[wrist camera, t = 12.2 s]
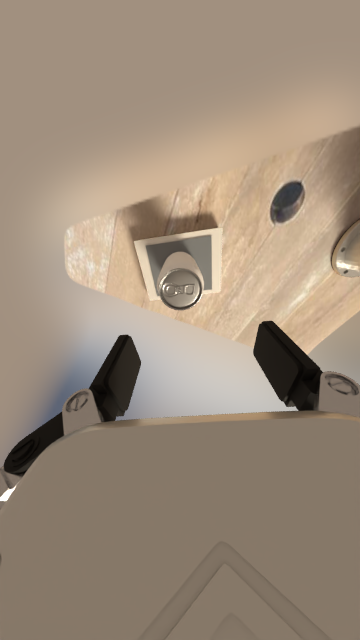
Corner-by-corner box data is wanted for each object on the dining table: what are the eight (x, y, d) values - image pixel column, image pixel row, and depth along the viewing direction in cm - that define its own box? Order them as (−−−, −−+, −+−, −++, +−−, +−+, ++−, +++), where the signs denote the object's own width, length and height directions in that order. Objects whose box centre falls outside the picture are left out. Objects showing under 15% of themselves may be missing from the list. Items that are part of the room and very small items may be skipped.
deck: (218, 227, 27) (223, 227, 24) (217, 287, 33) (221, 292, 31) (137, 240, 28) (133, 241, 25) (152, 295, 35) (149, 301, 32)
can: (162, 251, 26) (151, 264, 16) (197, 250, 26) (208, 263, 16) (165, 285, 30) (157, 313, 20) (195, 284, 30) (204, 312, 20)
